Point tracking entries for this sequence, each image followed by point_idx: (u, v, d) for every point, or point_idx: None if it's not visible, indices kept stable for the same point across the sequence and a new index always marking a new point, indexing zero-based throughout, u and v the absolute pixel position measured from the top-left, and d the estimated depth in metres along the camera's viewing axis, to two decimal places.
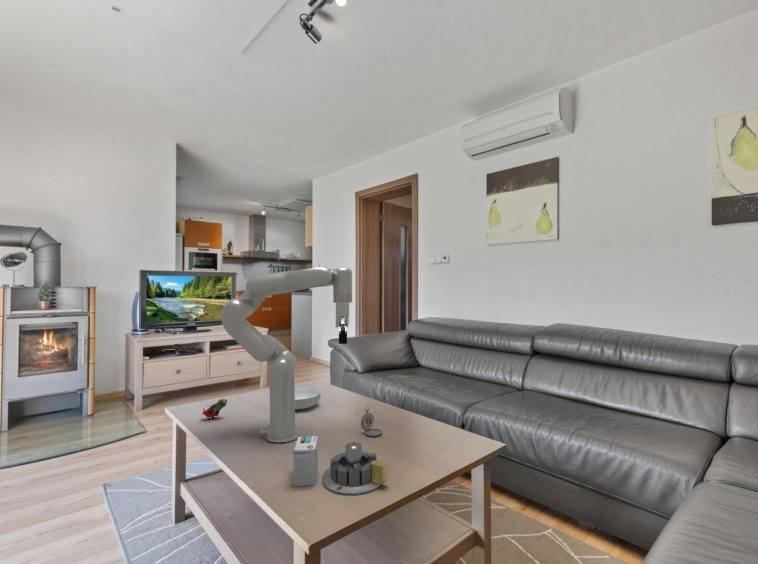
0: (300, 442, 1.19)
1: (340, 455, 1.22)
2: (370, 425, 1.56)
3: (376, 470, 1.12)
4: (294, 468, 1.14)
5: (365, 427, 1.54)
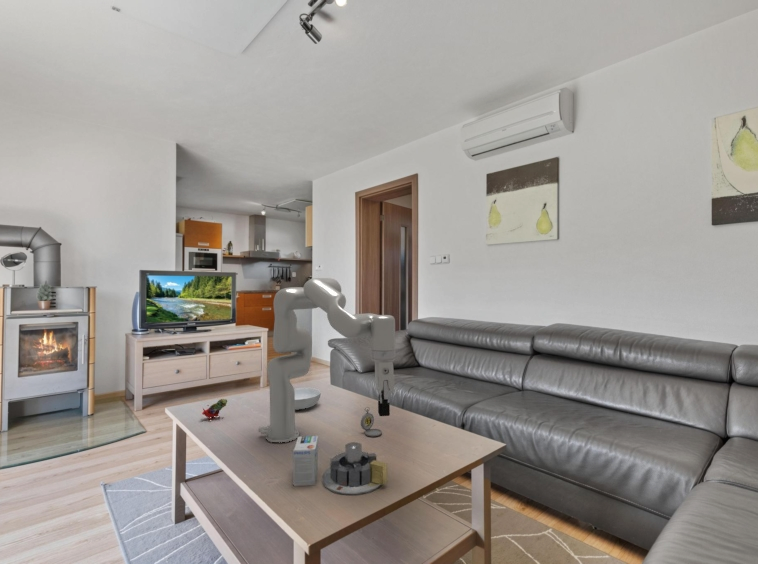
0: (300, 442, 1.19)
1: (340, 455, 1.22)
2: (370, 425, 1.56)
3: (376, 470, 1.12)
4: (294, 468, 1.14)
5: (365, 427, 1.54)
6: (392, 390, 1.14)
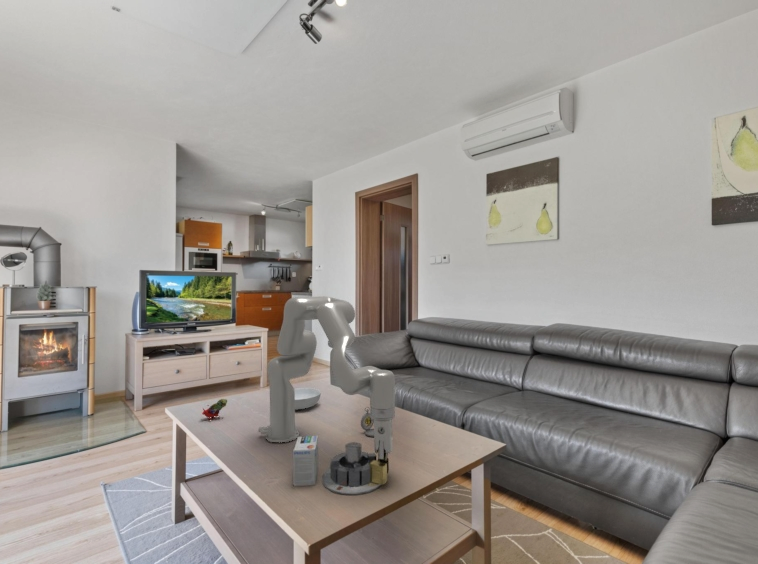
0: (300, 442, 1.19)
1: (340, 455, 1.22)
2: (370, 425, 1.56)
3: (376, 470, 1.12)
4: (294, 468, 1.14)
5: (365, 427, 1.54)
6: (388, 450, 1.12)
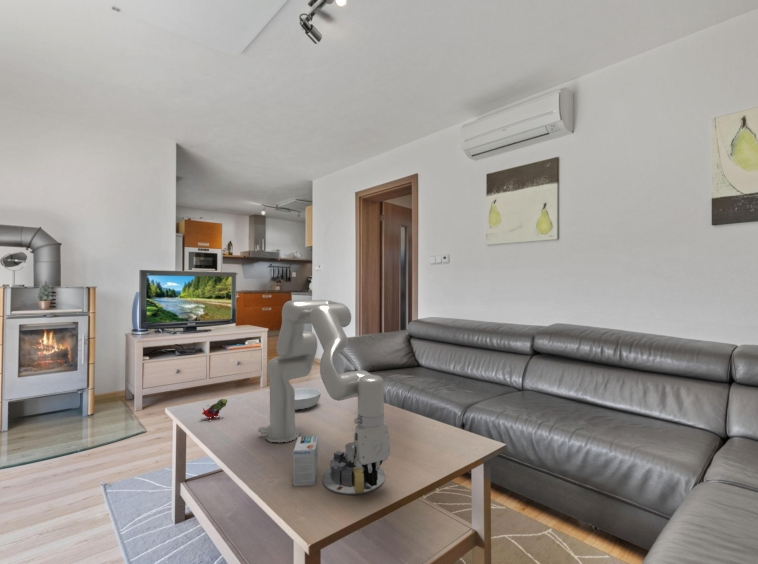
0: (300, 442, 1.19)
1: None
2: None
3: (353, 476, 1.09)
4: (294, 468, 1.14)
5: None
6: (359, 460, 1.06)
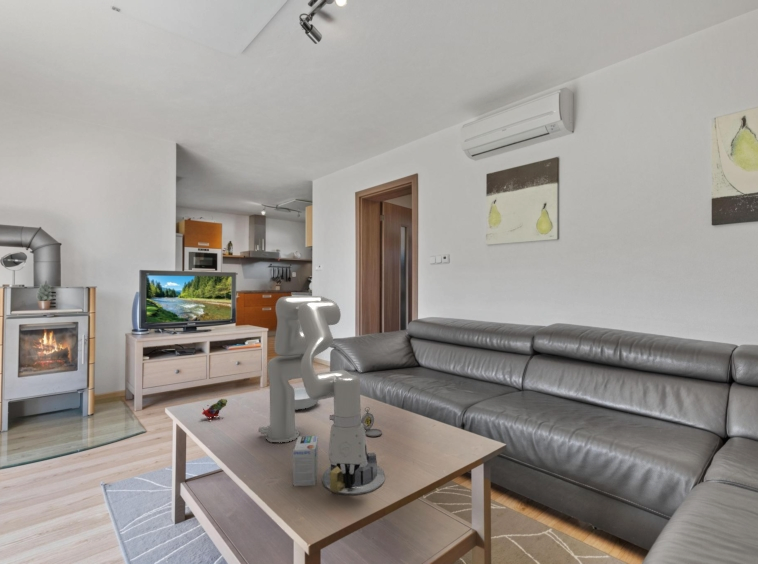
0: (300, 442, 1.19)
1: None
2: (370, 425, 1.56)
3: None
4: (294, 468, 1.14)
5: (365, 427, 1.54)
6: (329, 456, 1.07)
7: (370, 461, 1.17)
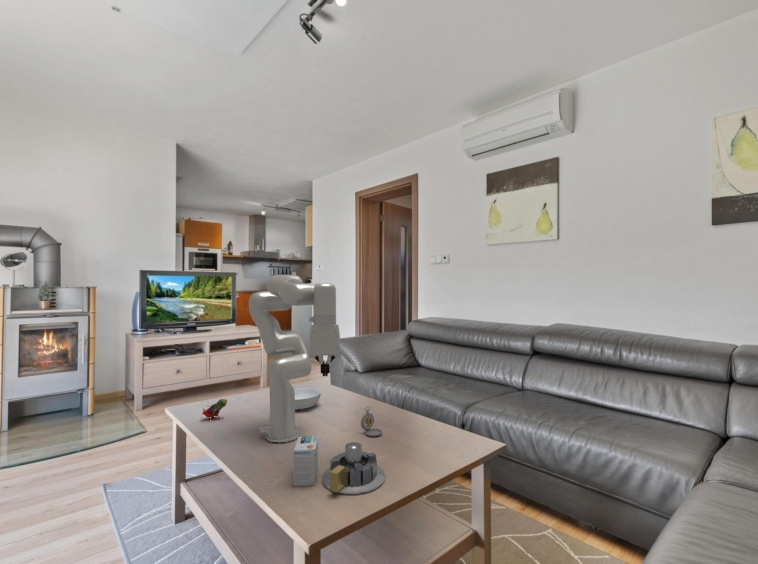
0: (300, 442, 1.19)
1: (366, 454, 1.22)
2: (370, 425, 1.56)
3: None
4: (294, 468, 1.14)
5: (365, 427, 1.54)
6: (309, 351, 1.26)
7: (370, 461, 1.17)
